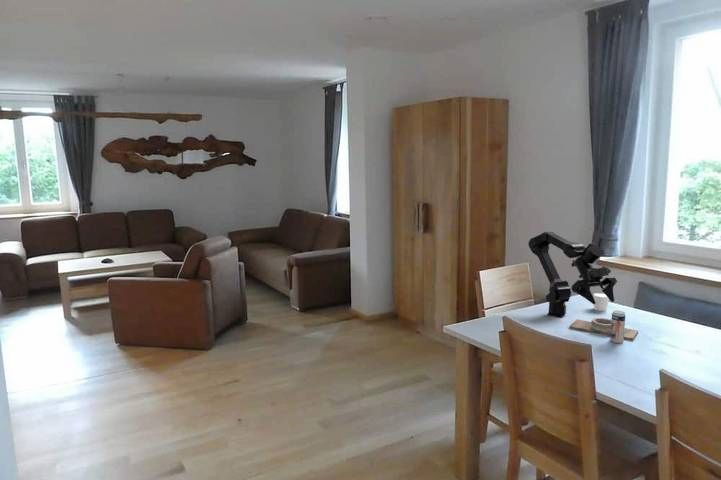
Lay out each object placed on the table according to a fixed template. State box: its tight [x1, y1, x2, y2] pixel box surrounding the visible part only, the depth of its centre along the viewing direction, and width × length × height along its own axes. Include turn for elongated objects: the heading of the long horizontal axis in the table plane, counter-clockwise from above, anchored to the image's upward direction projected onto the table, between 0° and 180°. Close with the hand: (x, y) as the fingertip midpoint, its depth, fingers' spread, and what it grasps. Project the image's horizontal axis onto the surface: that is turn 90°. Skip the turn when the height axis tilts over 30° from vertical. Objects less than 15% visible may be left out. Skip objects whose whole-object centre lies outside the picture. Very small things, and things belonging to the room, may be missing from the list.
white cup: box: [592, 292, 610, 312], centre depth 239 cm, size 7×7×7 cm
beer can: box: [609, 310, 627, 344], centre depth 198 cm, size 5×5×12 cm
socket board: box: [569, 317, 639, 342], centre depth 211 cm, size 24×11×4 cm, turn 52°
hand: (604, 302), depth 205 cm, fingers open, 9 cm apart
